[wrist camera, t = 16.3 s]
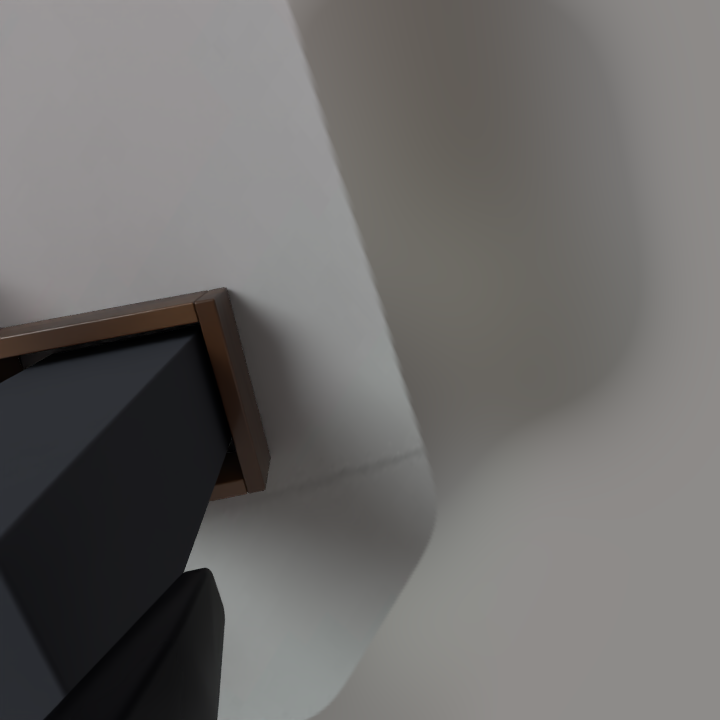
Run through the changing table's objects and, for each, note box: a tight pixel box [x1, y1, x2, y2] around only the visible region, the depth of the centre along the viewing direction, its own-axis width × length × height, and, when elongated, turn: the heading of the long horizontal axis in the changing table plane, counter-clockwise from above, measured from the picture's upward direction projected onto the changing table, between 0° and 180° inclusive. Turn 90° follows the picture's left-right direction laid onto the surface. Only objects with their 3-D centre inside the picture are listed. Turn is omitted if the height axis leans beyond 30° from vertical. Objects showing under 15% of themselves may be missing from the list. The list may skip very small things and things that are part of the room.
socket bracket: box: [0, 287, 271, 501], centre depth 18 cm, size 9×8×2 cm
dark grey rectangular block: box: [0, 325, 232, 720], centre depth 13 cm, size 6×4×13 cm
